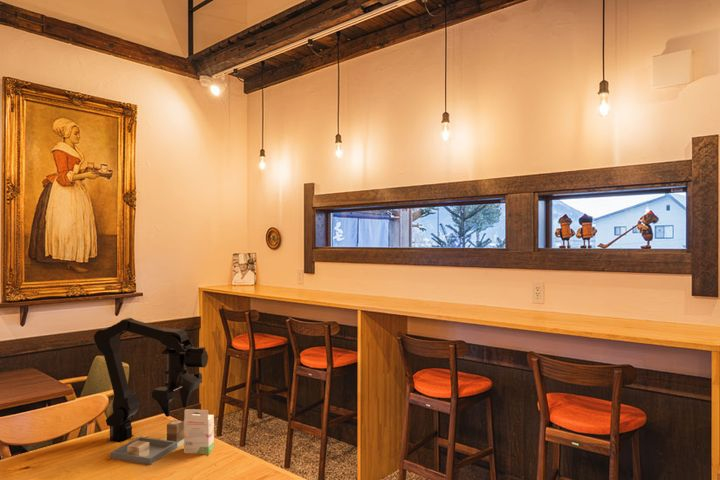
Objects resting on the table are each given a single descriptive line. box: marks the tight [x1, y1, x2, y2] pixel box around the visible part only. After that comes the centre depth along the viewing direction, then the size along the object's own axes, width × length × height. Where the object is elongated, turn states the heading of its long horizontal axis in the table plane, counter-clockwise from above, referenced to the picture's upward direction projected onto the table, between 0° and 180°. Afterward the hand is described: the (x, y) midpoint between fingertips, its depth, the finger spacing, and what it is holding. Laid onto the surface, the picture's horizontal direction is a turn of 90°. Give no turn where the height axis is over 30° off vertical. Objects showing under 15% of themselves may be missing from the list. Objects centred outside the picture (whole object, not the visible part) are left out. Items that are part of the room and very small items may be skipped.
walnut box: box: [166, 419, 184, 443], centre depth 168 cm, size 4×4×6 cm
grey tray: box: [110, 436, 178, 466], centre depth 158 cm, size 15×13×2 cm
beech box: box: [127, 441, 149, 457], centre depth 155 cm, size 4×4×4 cm
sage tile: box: [162, 436, 184, 448], centre depth 168 cm, size 9×9×1 cm
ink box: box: [183, 408, 215, 456], centre depth 160 cm, size 9×5×15 cm, turn 84°
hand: (176, 411), depth 168 cm, fingers open, 9 cm apart
